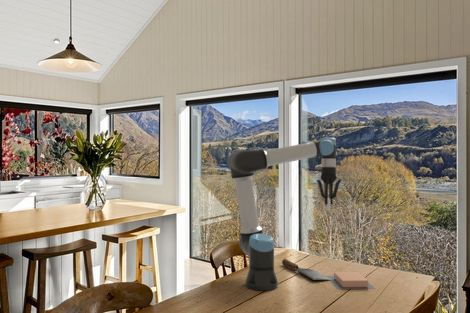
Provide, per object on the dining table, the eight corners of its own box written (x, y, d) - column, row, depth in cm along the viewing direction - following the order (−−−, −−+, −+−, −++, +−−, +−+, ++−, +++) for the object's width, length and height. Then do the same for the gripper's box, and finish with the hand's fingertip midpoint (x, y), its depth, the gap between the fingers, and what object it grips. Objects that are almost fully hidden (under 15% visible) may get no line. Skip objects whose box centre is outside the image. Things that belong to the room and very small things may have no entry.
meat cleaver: (332, 279, 192) (332, 271, 192) (313, 283, 188) (312, 275, 188) (298, 263, 223) (298, 256, 223) (280, 266, 219) (280, 258, 219)
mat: (337, 290, 179) (337, 289, 179) (325, 276, 199) (325, 275, 199) (375, 289, 179) (375, 288, 179) (360, 276, 199) (360, 275, 199)
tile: (333, 278, 194) (342, 288, 180) (333, 271, 194) (342, 280, 180) (357, 278, 194) (368, 287, 180) (357, 271, 194) (368, 280, 180)
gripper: (338, 166, 212) (338, 209, 212) (314, 166, 211) (314, 209, 211) (342, 166, 204) (342, 211, 204) (318, 166, 204) (318, 211, 204)
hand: (328, 210), depth 208 cm, fingers closed
